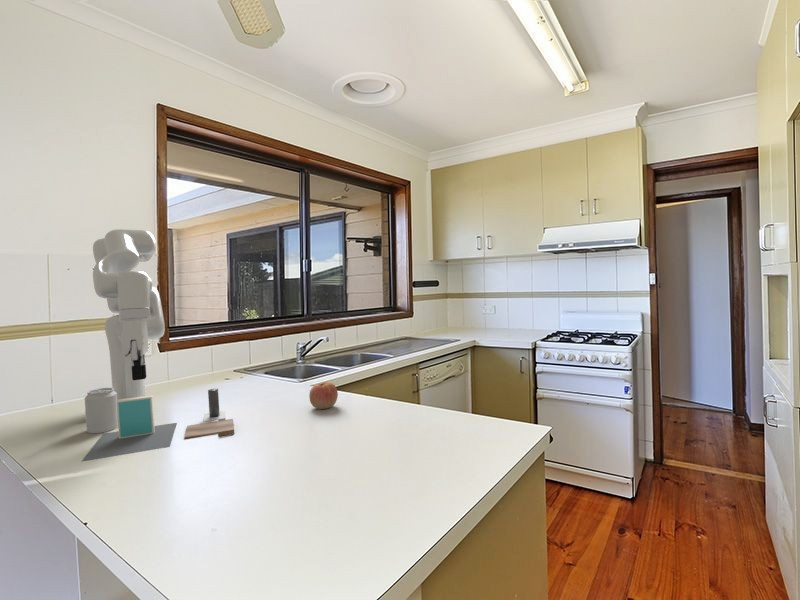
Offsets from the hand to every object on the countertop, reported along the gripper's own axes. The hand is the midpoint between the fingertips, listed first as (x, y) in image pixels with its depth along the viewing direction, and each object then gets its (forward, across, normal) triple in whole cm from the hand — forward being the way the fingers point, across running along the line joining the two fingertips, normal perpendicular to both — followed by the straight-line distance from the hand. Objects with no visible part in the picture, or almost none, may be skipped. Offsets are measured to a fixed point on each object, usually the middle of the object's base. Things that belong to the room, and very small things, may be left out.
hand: (139, 379), depth 119 cm
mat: (+15, +11, 0) cm, 18 cm away
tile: (+14, +7, 0) cm, 15 cm away
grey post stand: (+15, 0, +19) cm, 24 cm away
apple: (+15, +6, +51) cm, 53 cm away
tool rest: (+15, +12, +18) cm, 26 cm away
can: (+14, -4, -10) cm, 18 cm away
